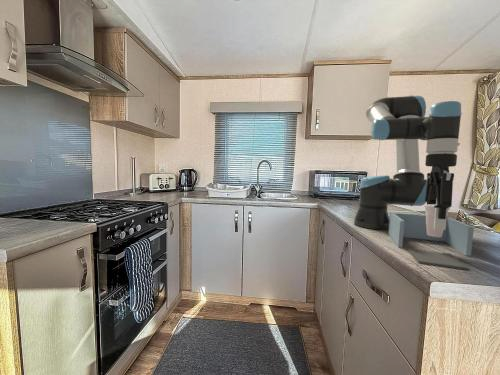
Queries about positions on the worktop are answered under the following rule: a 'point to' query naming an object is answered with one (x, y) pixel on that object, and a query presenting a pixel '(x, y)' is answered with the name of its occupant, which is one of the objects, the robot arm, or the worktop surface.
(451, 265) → the mat
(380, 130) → the robot arm
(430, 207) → the smoothie
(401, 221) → the open frame
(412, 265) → the worktop surface
